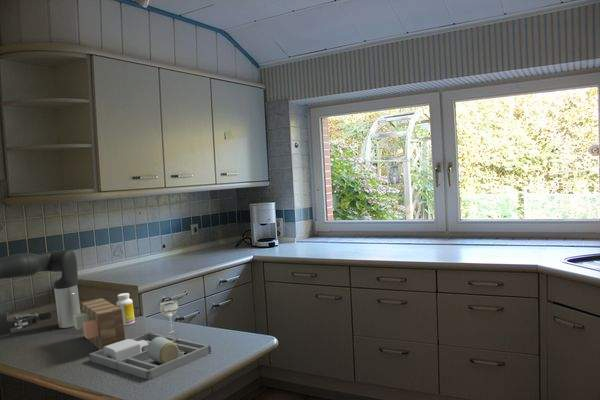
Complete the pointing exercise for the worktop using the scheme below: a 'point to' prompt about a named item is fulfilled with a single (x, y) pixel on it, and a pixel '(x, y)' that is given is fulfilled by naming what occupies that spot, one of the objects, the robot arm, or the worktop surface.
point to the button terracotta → (90, 329)
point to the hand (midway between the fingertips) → (50, 314)
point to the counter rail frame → (145, 369)
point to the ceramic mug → (163, 350)
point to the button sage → (80, 320)
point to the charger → (124, 349)
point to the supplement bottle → (126, 308)
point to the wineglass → (169, 309)
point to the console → (105, 321)
